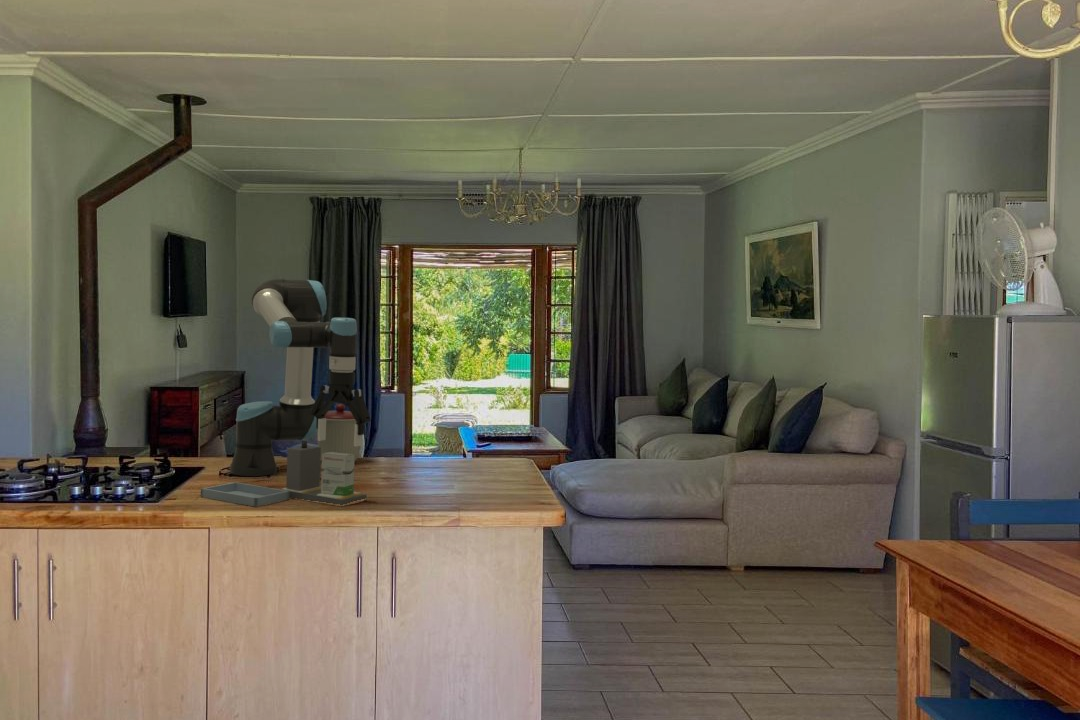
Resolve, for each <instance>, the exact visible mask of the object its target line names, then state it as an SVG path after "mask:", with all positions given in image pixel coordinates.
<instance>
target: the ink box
mask: <svg viewBox="0 0 1080 720" xmlns="http://www.w3.org/2000/svg"><path fill="white" fill-rule="evenodd" d="M320 486H321V493H325V494H334V495H344V496H347V495H350V494H352V493H354V492H355V462H354V454H347V453H336V452H328V453H323V454H322V460H321V470H320Z"/></svg>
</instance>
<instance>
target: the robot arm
mask: <svg viewBox="0 0 1080 720" xmlns="http://www.w3.org/2000/svg"><path fill="white" fill-rule="evenodd" d="M250 298H251V299H250V301H251V307H252V309H253V310H254V312H255V313H256V314H258V316H260V317H262V318H263V320H265V322H266V323H267V325H268V326H269V334H268V335H269V340H270V344H271V346H273V347H275V348H278V347H279V348H283V349H285V348H286V360H285V361H286V364H285V379H284V383H285V384H284V394H283V396H282V397H280V399H279V403H278V405H275V404H274V401H271V400H270V401H269V400H264V401H263V400H262V401H261V400H260V401H259V400H258V401H253V402H247V403H243V404H241V405H239V406H238V407H237V410H236V418H235V421H236V423H235V424H236V425H235V427H236V429H235V432H236V434H235V451H234V454H233V457H232V460H231V463H230V465H229V473H230V474H231V475H236V476H240V477H241V476H242V477H260V476H270V475H271V476H272V475H275V474H277V472H278V465H277V463H276V459H275V455H274V451H273V441H295V440H296V441H304V440H311V439H313V438H314V437H315V436H316V435H317V430H318V439H317V442H318V441H322V440H326V418H323V417H324V416H325V415H326V413H327V412H328V411H331V410H330V409H331V408H332V407H333V406H334V404H336V403H337V404H344V405H345V406H347V408H348V409H349V410H348V411H351V413H352V415H353V417H354V418H355V420H356V422H357V423H356V424H355V431H354V446H355V447H357V446H360V447H362V446H363V435H364V434H365V426H366V424H368V423H370V422H371V416H370V413H369V411H368V406H367V405H366V402H365V399H364V394H363V393H364V391H363V389H361V388H360V389H359V388H358V389H355V388H354V385H355V382H356V373H355V372H354V371H355V370H356V365H357V364H356V354H357V335H358V328H357V327H358V326H357V325H358V324H357V320H356V319H355V318H352V317H332V318H331V319H330V321H326V322H323V321H322V322H321V319H320V318H321V317H324V316H325V315H326V313H327V305H328V303H327V302H328V301H327V296H326V291H325V288H324V285H323V284H322V283H321V282H320V281H318V280H311V279H292V278H291V279H288V278H287V279H285V278H271V279H268V280H265V281H263V282H262V283H260V284H258V285H257V287H255V289H254V290H253V292H252V293H251V297H250ZM314 348H317V349H318V348H323V349H324V348H325V349H326V348H328V349H329V356H328V357H329V361H328V362H329V363H328V364H329V365H328V366H329V367H328V369H329V372H328V384H329V385H328V384H326V385H320V390H319V394H318V395H317V399H316V400H315V399H314V398H313V396H312V395H311V394H312V383H313V382H312V380H313V361H314ZM328 395H329V396H328Z"/></svg>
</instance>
